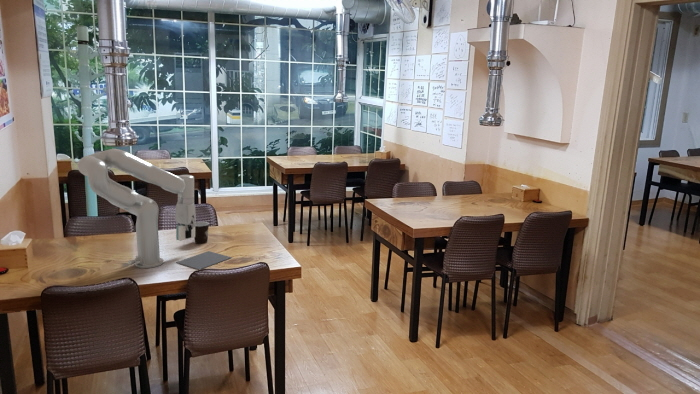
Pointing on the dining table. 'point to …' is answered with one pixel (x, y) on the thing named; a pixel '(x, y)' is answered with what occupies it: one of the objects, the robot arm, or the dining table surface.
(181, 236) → the card deck
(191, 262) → the mat
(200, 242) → the coffee mug
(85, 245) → the dining table surface
